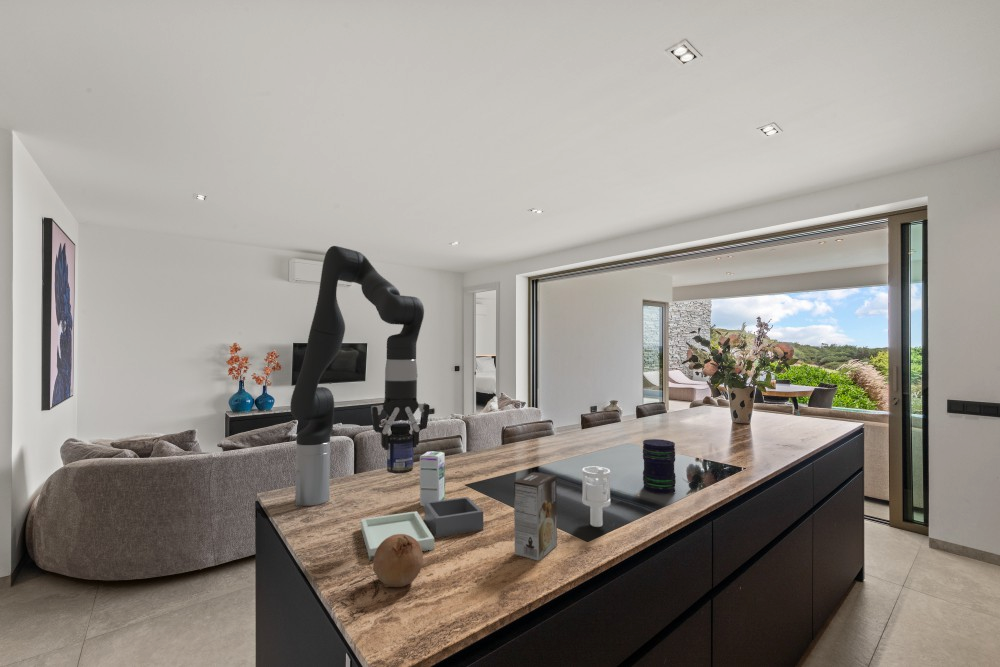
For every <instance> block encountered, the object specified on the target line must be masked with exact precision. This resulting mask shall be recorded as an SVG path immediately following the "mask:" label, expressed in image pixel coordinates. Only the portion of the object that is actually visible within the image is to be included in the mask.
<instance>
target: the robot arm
mask: <svg viewBox="0 0 1000 667" xmlns="http://www.w3.org/2000/svg"><path fill="white" fill-rule="evenodd" d="M323 259H324V260H323V262H322V268H321V275H320V281H319V282H320V284H319V290H318V295H317V296H318V297H317V300H316V306H315V309H314V315H313V318H312V321H311V326H310V330H309V335H308V338H307V339H308V340H307V343H306V349H305V353H304V356H303V361H302V363H301V364H302V365H301V368H300V372H299V374H298V378H297V381H296V383H295V386H294V388H293V391H292V395H291V399H290V413H291V415H292V418H293V419H294V420H296V421H300V422H301V421H302V422H303V421H304V422H305V421H309V423H308V424H307V425H306V426H305V427H304V428H303V429H301V430H300V431H299V432H298V433H297V434H296V451H295V453H296V454H295V456H296V457H295V458H296V459H295V460H296V462H295V497H294V499H295V504H294V505H295V507H297V506H303V507H304V506H306V507H307V506H309V507H310V506H316V505H321V504H325V503H326V502H329V500H330V491H331V490H330V484H331V483H330V482H331V481H330V479H331V477H330V476H331V435H332V433H333V429H334V418H335V417H334V416H335V398H334V394H333V393H332V391H331V390H330V389H329V388H327V387H325V386H324V387H323V386H319V383H320V380H321V378H322V375H323V374H324V372H325V371H326V369H327V368H328V367H329V366H331V365H330V364H332V363H333V361H334V359H335V358H336V357H338V356H337V355H338V354H339V353H340V350H341V349H342V345H343V340H344V336H345V332H346V323H345V320H344V317H343V313H342V310H341V309H340V306H339V303H338V298H337V289H338V288H337V287H338V283H339V282H338V281H343V282H345V283H346V282H347V283H356V284H358V285H360V286H361V291H362V294H363V295H364V297H365V299H366V300H368V301H369V302H370V303H371V304H372V305H373V306H374V307H375V308H376V310H377V312H378V315H379V317H380V319H381V320H382V321H383V322H385V323H386V324H389V325H401V326H402V328H401V331H400V332H399V333H396V334H392V335H390V336H388V337H387V338H386V339H387V340H386V361H385V362H386V363H385V370H384V371H385V372H384V401H383V403H382V404H380V405H371V407H370V412H371V420H372V421H371V422H372V429H373V430H374V432H375V433H380V435H381V436H380V445H381V448H383V449H384V451H387V450H388V436H389V433H388V432H389V431H390V426H391V425H392V424H394V422H400V421H404V422H408V424H410V428H411V429H412V430H411V434H412V436H413V449H414V448H417V446H418V445H419V443H420V432H421V431H422V430H425V429H427V427H428V422H429V421H428V420H429V414H430V408H431V407H430V406H431V405H429V404H428V403H426V402H424V403H419V402H418V399H417V398H418V396H417V395H418V391H417V390H418V366H417V342H418V338H419V334H420V331H421V327H422V324H423V320H424V316H425V308H424V304H423V302H422V301H421V299H420V298H418V297H415V296H409V295H402V294H401V293H400V291H399V289H398V288H397V287H396V285H394V284H392V283H391V282H390V281H389V280H387V279H386V278H385V277H383V276H382V274H380V273H379V272H378V271H377V270H376V268H375V267H374V266H373V264H372V263H371V262H370V260H369V259H368V258H367V257H366V256H365V255H364V254H363V253H361V252H359V251H358V250H354V249H350V248H345V247H342V246H338V245H332V246H330V247H329V248H328V249H327V251H326V253H325V255H324V258H323ZM417 410H419V412H420V420H419V423H417V420H416V418H415V416H414V414H415V413H416V411H417ZM382 411H384V412H385V414H386V418H385V420H384V422H383V425H382V426H380V420H379V418H380V417H379V416H380V415H381V413H382Z"/></svg>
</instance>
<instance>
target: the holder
mask: <svg viewBox="0 0 1000 667" xmlns="http://www.w3.org/2000/svg"><path fill="white" fill-rule="evenodd" d="M423 507H424V514H423V515H424V516H423V518H424V520H423V521H424V522H425V524H426V525H427V527H428V528H429V527H430V528H429V530H430V531H431V530H432V531H431V533H432V534H433V533H434V534H433V536H434V537H435V536H436V537H437V538H442V537H441V536H443V537H448V535H449V536H454V534H455V535H460V533H461V534H465V533H472V531H473V532H478V530H479V531H484V510H482V509H481V508H480V507H479V505H477V504H476V503H475V501H473V500H472V499H471V498H470V497H468V496H462V497H455V498H449V499H448V498H447V499H445V500H440V501H432V502H425V506H423ZM436 537H435V538H436Z"/></svg>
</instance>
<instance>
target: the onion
mask: <svg viewBox="0 0 1000 667" xmlns="http://www.w3.org/2000/svg"><path fill="white" fill-rule="evenodd" d="M423 553H424V552H422V549H421V546H420V545H419V543H418V542H417V541H416V540H415V539H414V538H413V537H411V536H409V535H405V534H396V535H392V536H390V537H388V538H386V539H385V540H384V541H383V542H382V543H381V544H380V545H379V547H378V548H377V550H376V552H375V555H374V559H373V561H372V566H373V568H372V570H373V572H374V573H375V575H376V577H377V579H378V581H380V582H381V583H383V586H384V587H385V588H403V587H405V586H407V585H410V584H411V583H413V582H414V580H415V579H416V578H417V577H418V576H419V574H420V572H421V569H422V568H423V567H422V566H423V562H424V554H423Z"/></svg>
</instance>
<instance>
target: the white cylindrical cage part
mask: <svg viewBox="0 0 1000 667" xmlns="http://www.w3.org/2000/svg"><path fill="white" fill-rule="evenodd" d="M581 471H582V472H581V473H582V474H581V475H582V497H581V499H582V500H581V501H582V504H583V505H585V506H587V507H590V513H589V514H590V516H589V517H590V526H592V527H596V528H600V527H602V526H603V508H606V507H607V508H608V507H609V506H611V470H610V469H609V468H607V467H604V466H603V467H602V466H596V465H595V466H592V465H591V466H585V467H583V468H582V470H581ZM595 472H596V473H595Z"/></svg>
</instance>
